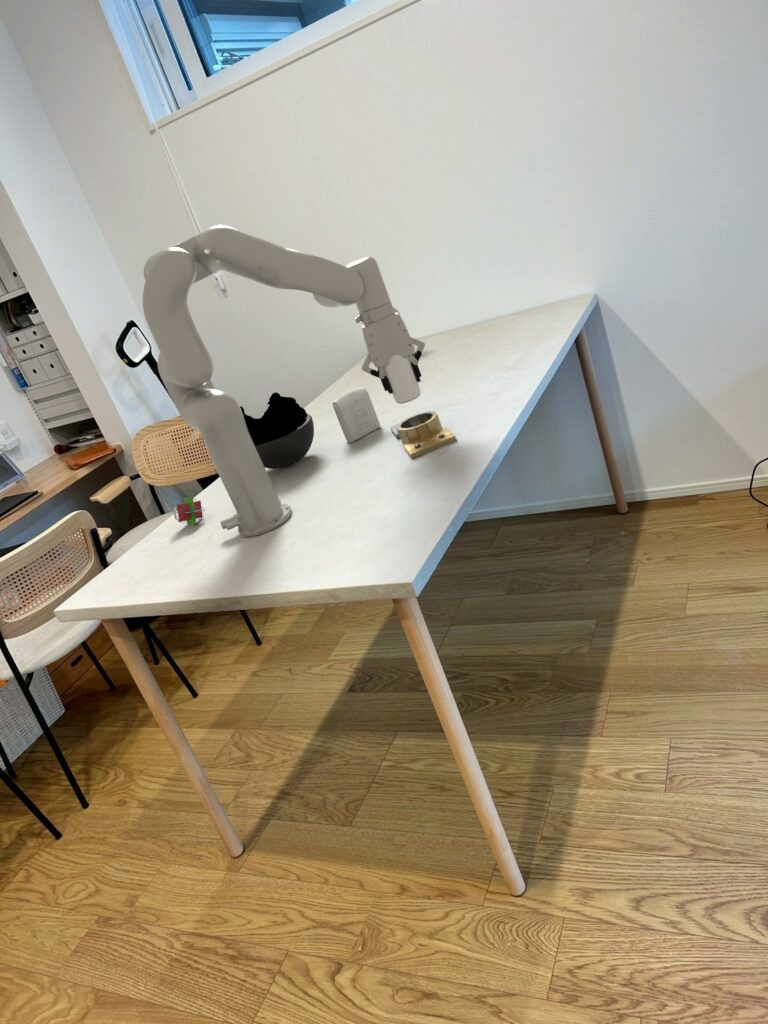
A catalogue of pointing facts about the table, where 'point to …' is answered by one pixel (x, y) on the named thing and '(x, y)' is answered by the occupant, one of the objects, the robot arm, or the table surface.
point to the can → (402, 379)
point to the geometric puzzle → (188, 511)
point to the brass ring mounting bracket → (422, 433)
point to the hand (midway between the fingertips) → (404, 386)
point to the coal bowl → (281, 432)
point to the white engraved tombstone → (355, 413)
